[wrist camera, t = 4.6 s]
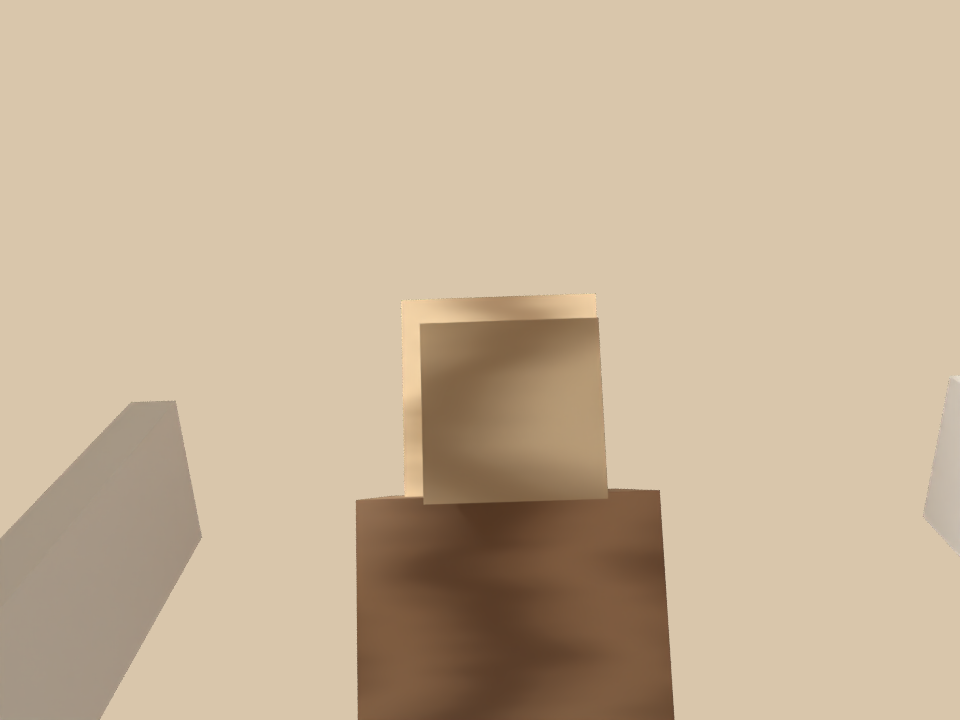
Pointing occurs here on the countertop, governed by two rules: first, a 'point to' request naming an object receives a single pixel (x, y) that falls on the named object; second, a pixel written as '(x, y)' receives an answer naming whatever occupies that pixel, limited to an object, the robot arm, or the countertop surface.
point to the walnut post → (513, 609)
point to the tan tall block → (503, 399)
